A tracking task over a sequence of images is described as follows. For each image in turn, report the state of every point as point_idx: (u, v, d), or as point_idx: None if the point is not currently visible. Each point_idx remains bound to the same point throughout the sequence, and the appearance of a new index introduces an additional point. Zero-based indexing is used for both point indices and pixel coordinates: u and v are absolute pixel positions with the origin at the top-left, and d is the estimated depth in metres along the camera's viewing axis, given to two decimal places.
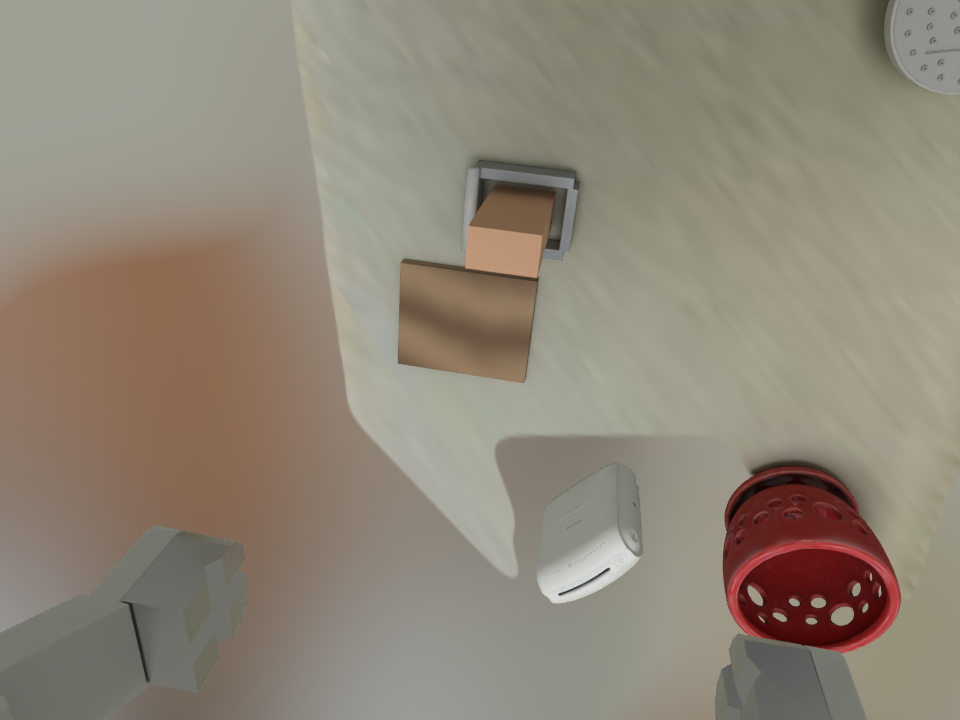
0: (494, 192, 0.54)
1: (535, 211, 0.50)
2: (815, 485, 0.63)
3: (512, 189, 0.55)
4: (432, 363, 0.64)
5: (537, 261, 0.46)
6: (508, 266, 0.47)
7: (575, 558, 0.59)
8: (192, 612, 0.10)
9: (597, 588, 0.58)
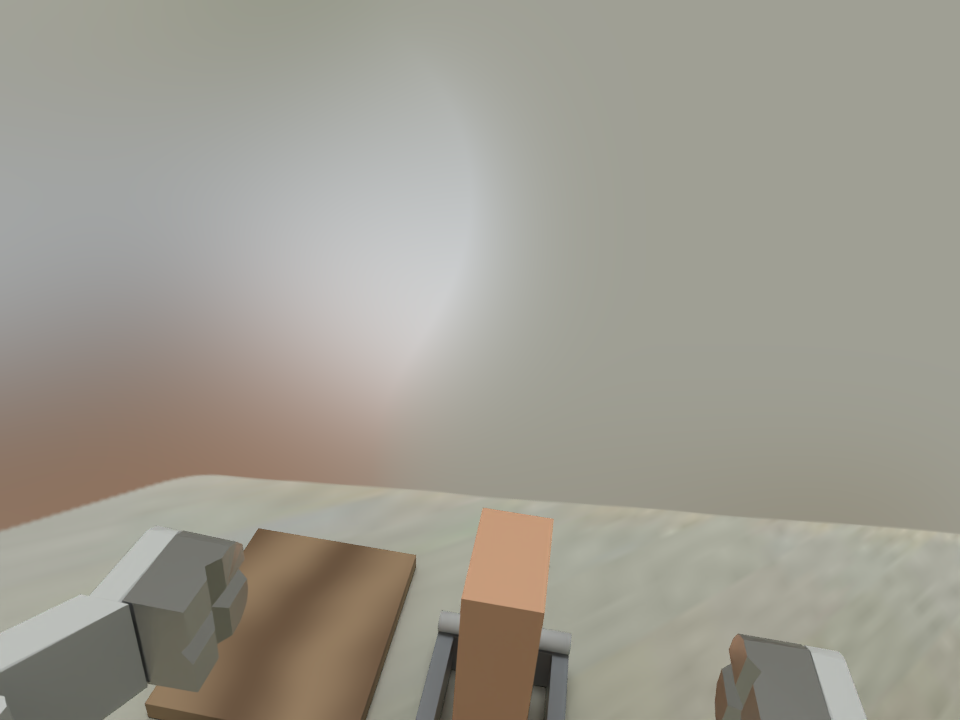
0: None
1: None
2: None
3: None
4: (242, 569, 0.39)
5: (494, 601, 0.25)
6: (484, 560, 0.26)
7: None
8: (192, 612, 0.10)
9: None
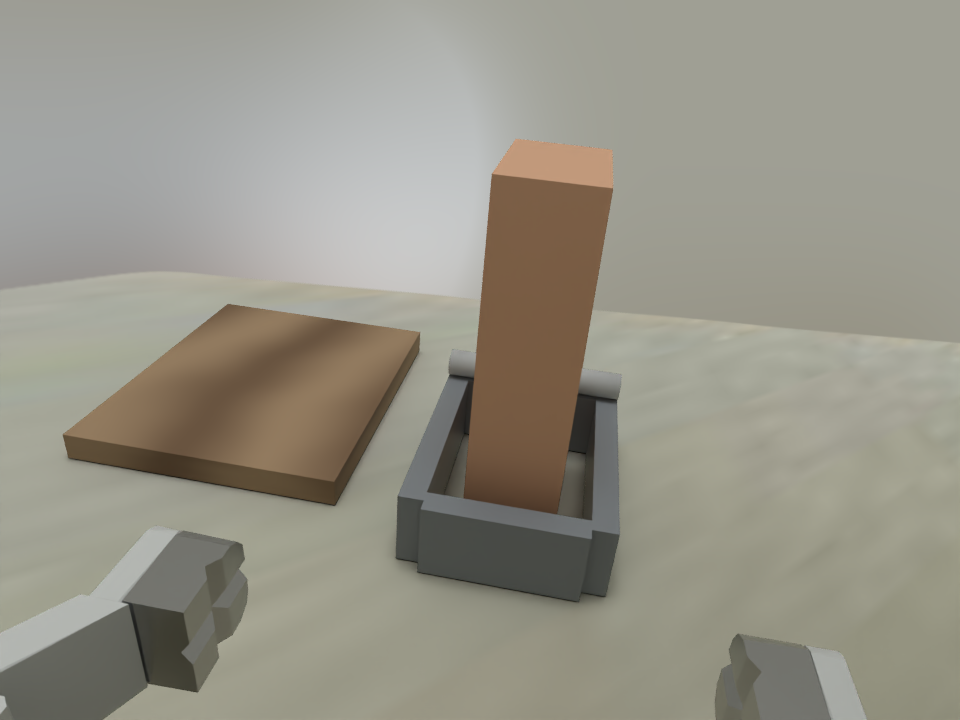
0: None
1: None
2: None
3: None
4: (204, 333, 0.32)
5: (539, 178, 0.17)
6: (522, 160, 0.19)
7: None
8: (192, 612, 0.10)
9: None
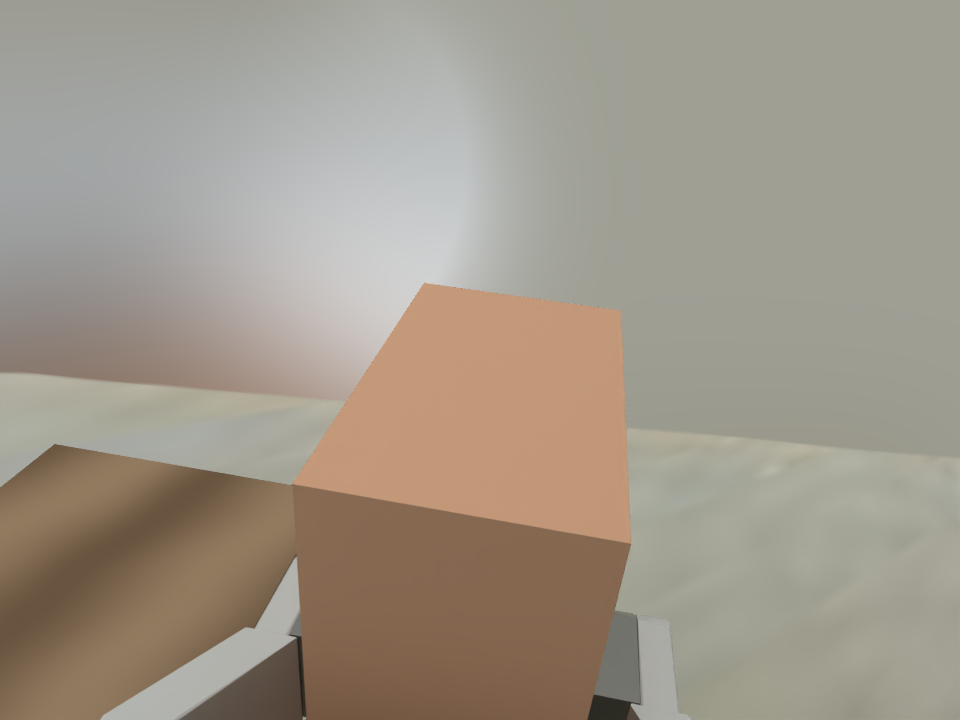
0: None
1: None
2: None
3: None
4: None
5: (424, 498, 0.06)
6: (409, 383, 0.08)
7: None
8: None
9: None
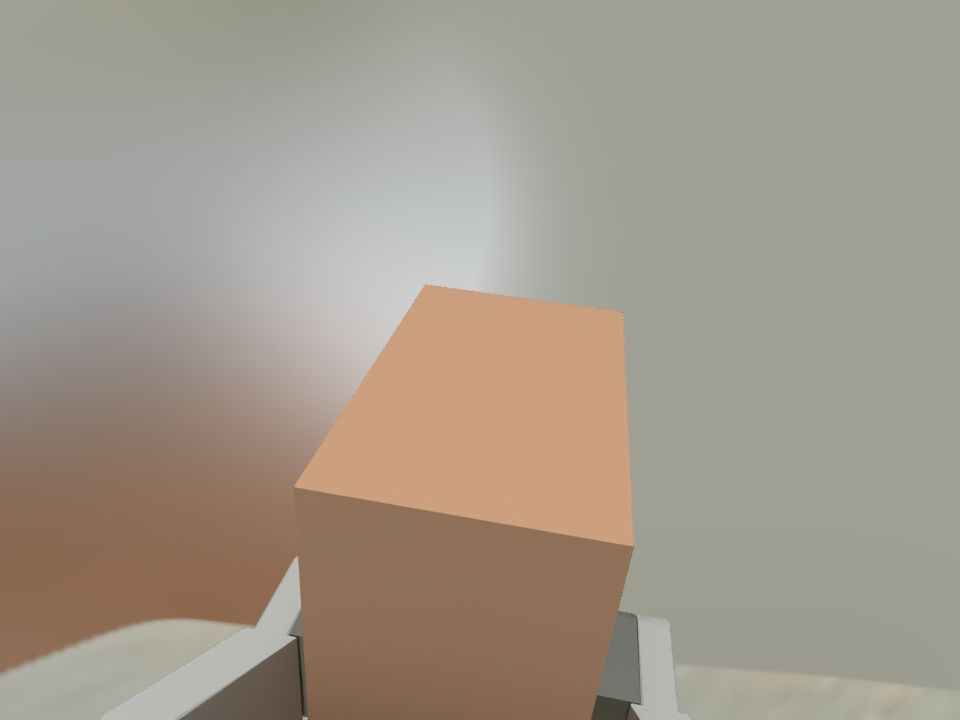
0: None
1: None
2: None
3: None
4: None
5: (425, 501, 0.06)
6: (410, 385, 0.08)
7: None
8: None
9: None
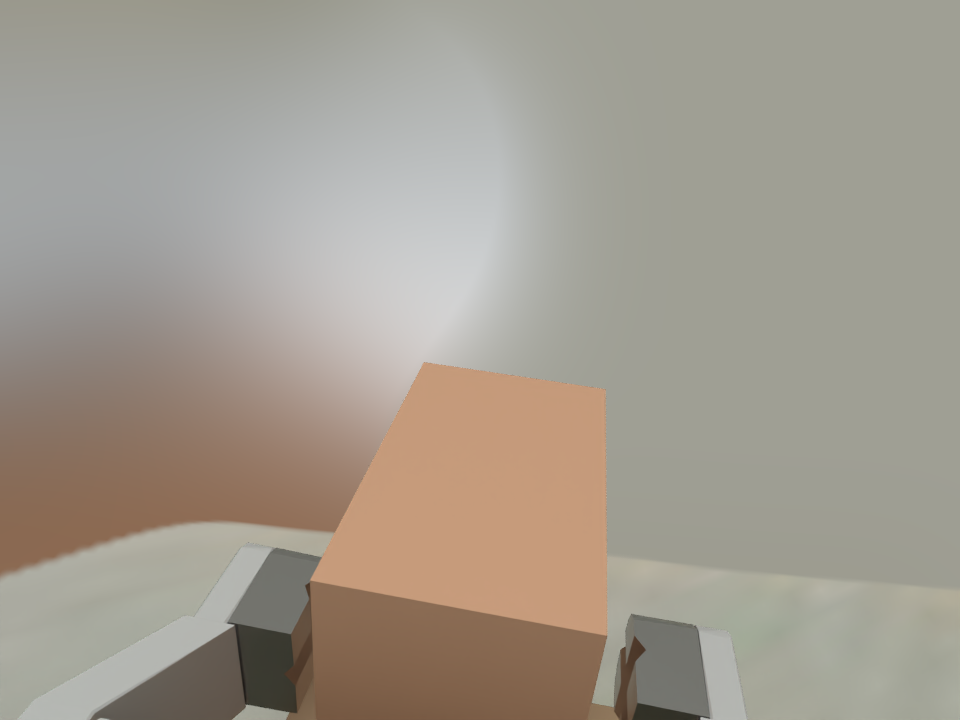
0: None
1: None
2: None
3: None
4: None
5: (426, 593, 0.07)
6: (411, 472, 0.09)
7: None
8: (297, 633, 0.10)
9: None
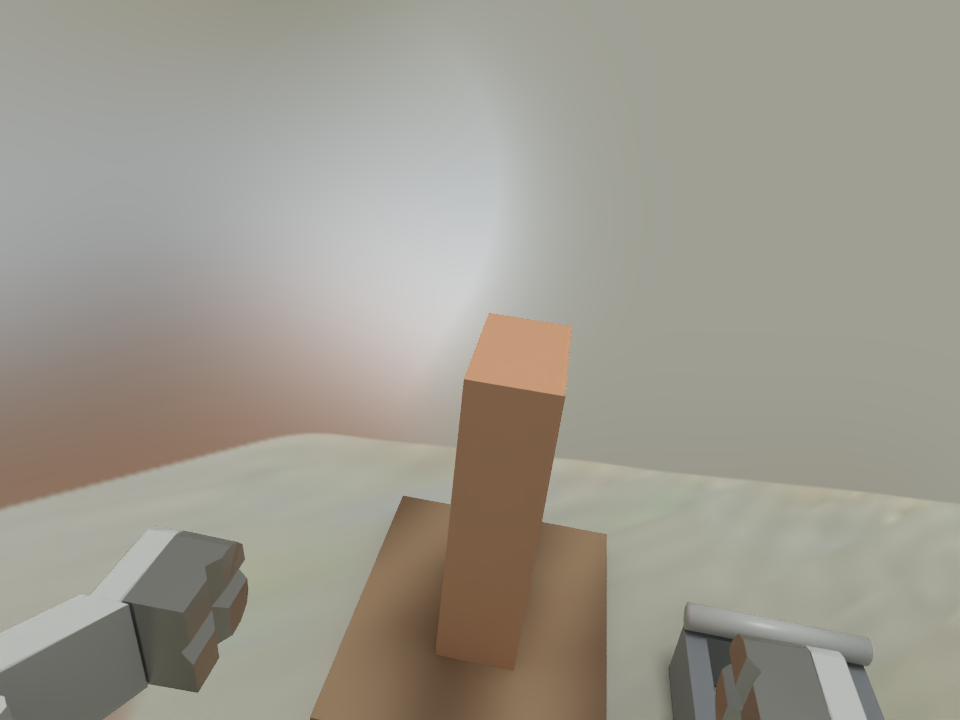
0: None
1: None
2: None
3: None
4: (396, 544, 0.31)
5: (503, 384, 0.20)
6: (492, 352, 0.22)
7: None
8: (192, 612, 0.10)
9: None
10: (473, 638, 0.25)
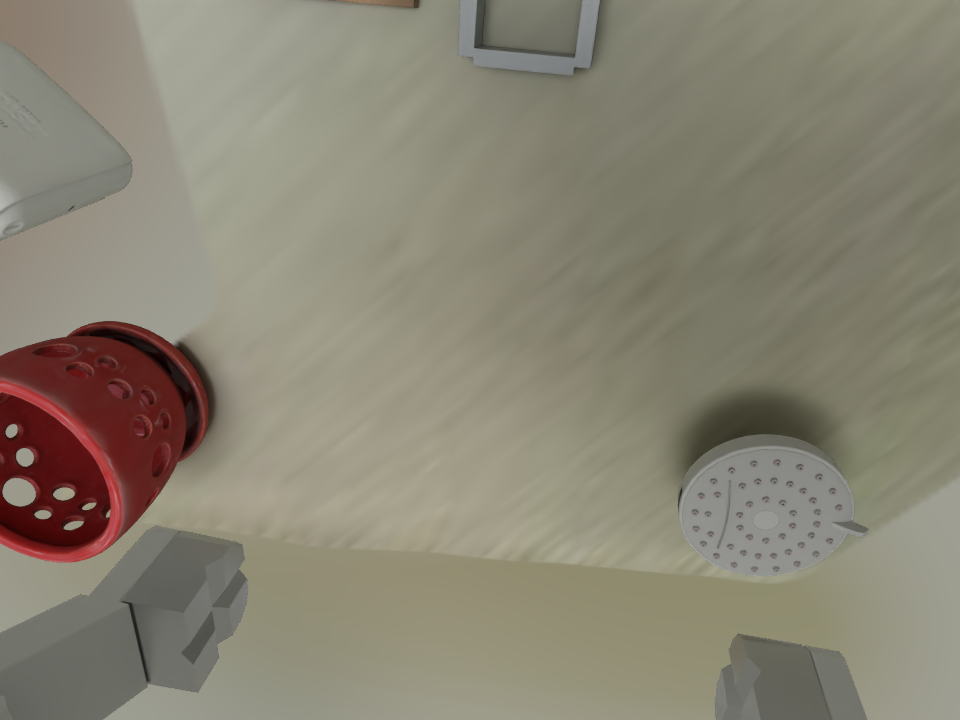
0: None
1: None
2: (187, 416, 0.49)
3: None
4: None
5: None
6: None
7: None
8: (192, 612, 0.10)
9: None
10: None
